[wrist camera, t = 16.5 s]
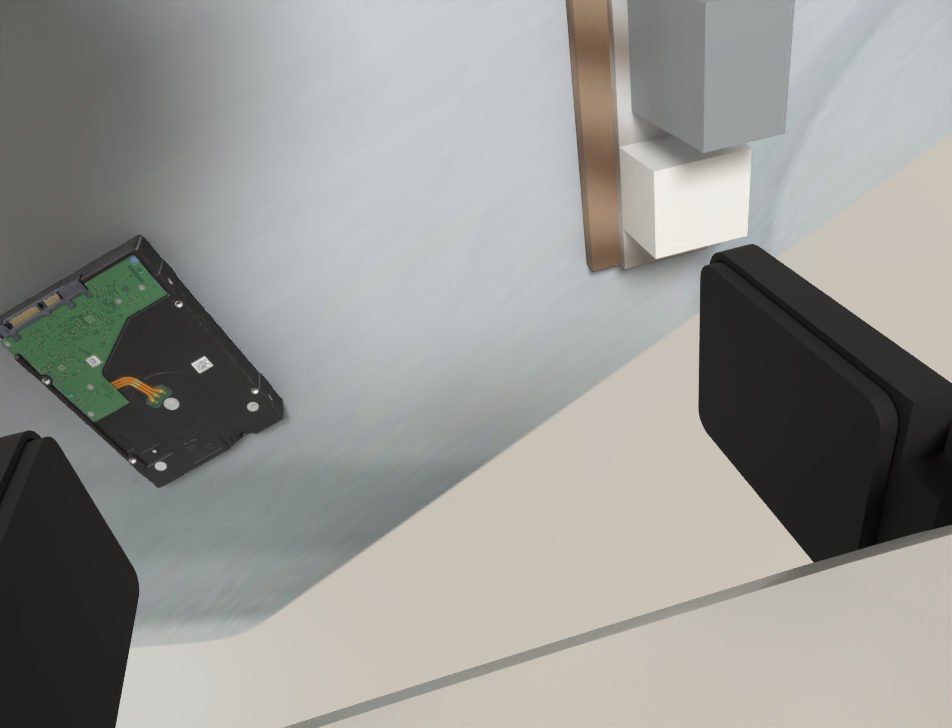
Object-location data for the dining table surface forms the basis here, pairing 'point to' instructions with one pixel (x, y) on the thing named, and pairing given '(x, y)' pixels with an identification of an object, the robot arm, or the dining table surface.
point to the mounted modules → (683, 194)
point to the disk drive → (141, 362)
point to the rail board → (605, 127)
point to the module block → (711, 68)
